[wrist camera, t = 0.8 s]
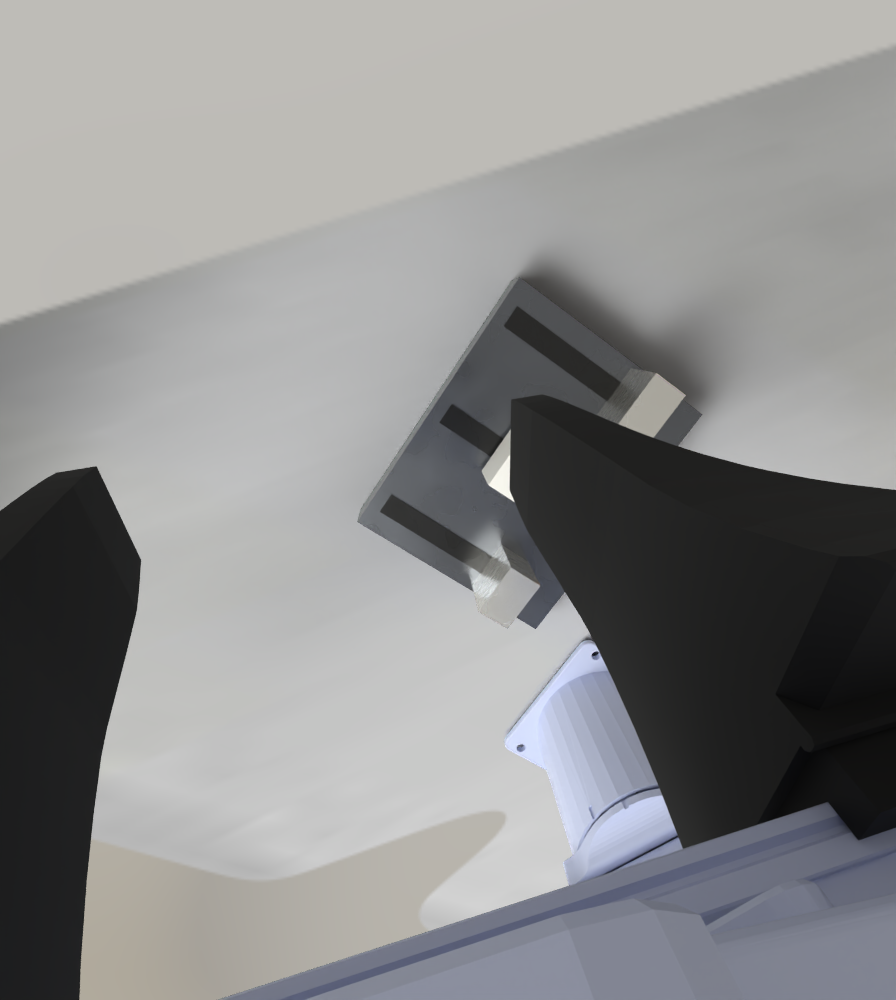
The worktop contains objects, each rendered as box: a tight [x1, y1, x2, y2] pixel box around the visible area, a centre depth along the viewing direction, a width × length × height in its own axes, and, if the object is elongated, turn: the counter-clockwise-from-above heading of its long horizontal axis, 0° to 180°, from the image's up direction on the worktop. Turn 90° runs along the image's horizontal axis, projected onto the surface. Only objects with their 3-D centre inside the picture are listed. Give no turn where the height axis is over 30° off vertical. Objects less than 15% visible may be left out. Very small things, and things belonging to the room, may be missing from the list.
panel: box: [357, 277, 702, 629], centre depth 27 cm, size 10×13×5 cm
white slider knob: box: [482, 429, 514, 502], centre depth 25 cm, size 2×2×2 cm, turn 146°
